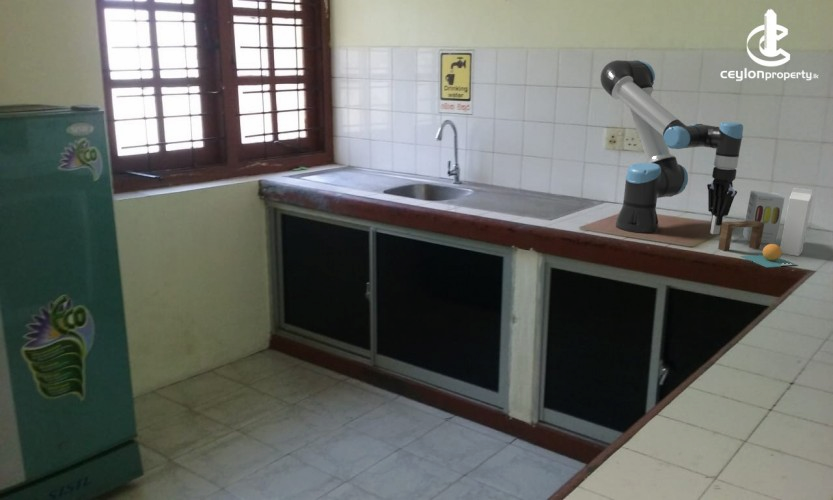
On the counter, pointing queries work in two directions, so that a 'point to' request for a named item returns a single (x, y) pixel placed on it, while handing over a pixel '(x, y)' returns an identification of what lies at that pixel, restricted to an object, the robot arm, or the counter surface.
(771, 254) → the ball
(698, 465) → the counter surface
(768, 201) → the supplement box
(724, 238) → the bridge
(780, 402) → the counter surface
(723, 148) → the robot arm
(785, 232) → the milk
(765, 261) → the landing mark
